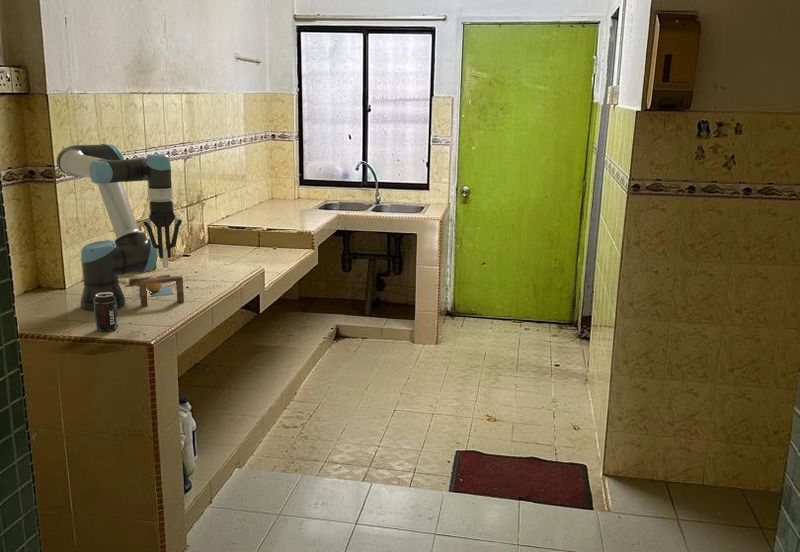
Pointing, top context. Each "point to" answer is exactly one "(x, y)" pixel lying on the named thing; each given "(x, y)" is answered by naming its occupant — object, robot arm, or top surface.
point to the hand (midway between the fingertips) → (165, 267)
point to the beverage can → (105, 311)
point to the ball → (153, 286)
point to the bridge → (159, 280)
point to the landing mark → (161, 291)
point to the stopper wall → (136, 280)
